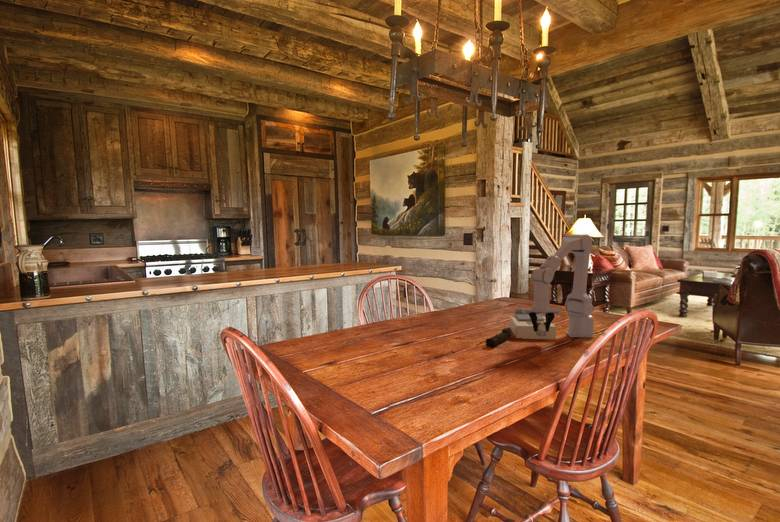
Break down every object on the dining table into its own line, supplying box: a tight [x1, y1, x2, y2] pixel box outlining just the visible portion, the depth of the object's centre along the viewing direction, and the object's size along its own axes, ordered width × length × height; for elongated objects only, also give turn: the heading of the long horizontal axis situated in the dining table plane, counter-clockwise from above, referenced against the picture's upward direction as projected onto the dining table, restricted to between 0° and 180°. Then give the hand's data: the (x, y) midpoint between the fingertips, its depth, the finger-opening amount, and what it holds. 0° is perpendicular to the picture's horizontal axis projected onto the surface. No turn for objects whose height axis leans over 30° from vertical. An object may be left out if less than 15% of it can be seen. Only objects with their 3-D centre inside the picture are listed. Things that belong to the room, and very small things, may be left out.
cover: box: [514, 308, 545, 321], centre depth 182 cm, size 11×11×3 cm
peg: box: [536, 321, 546, 336], centre depth 161 cm, size 4×4×5 cm
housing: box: [509, 315, 557, 340], centre depth 178 cm, size 16×18×6 cm
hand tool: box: [485, 327, 512, 349], centre depth 165 cm, size 19×4×5 cm, turn 136°
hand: (540, 331), depth 161 cm, fingers closed on peg, 4 cm apart
